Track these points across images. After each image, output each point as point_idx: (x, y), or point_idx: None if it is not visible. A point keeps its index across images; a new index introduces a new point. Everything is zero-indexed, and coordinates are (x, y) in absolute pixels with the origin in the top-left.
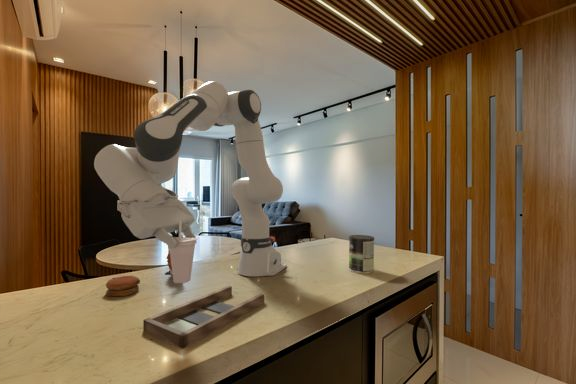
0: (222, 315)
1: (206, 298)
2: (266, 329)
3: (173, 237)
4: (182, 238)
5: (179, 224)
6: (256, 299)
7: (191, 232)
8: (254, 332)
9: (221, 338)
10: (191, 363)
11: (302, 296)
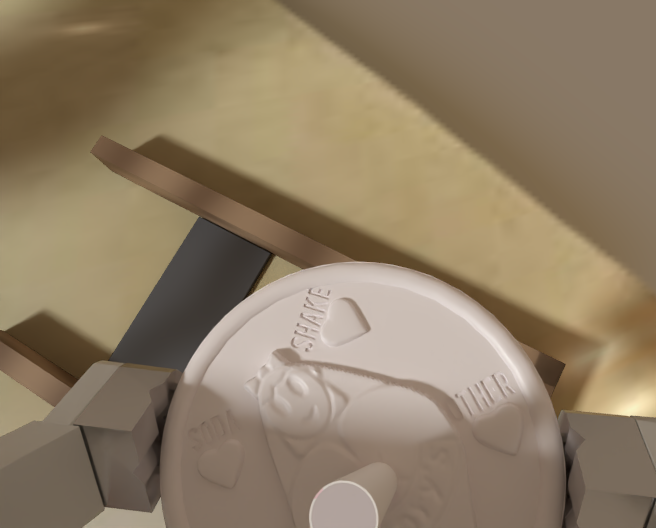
0: (349, 258)
1: None
2: (371, 100)
3: (640, 492)
4: (345, 455)
5: (383, 512)
6: (152, 162)
7: (59, 421)
8: (398, 137)
9: (456, 245)
10: (643, 295)
11: (65, 15)
